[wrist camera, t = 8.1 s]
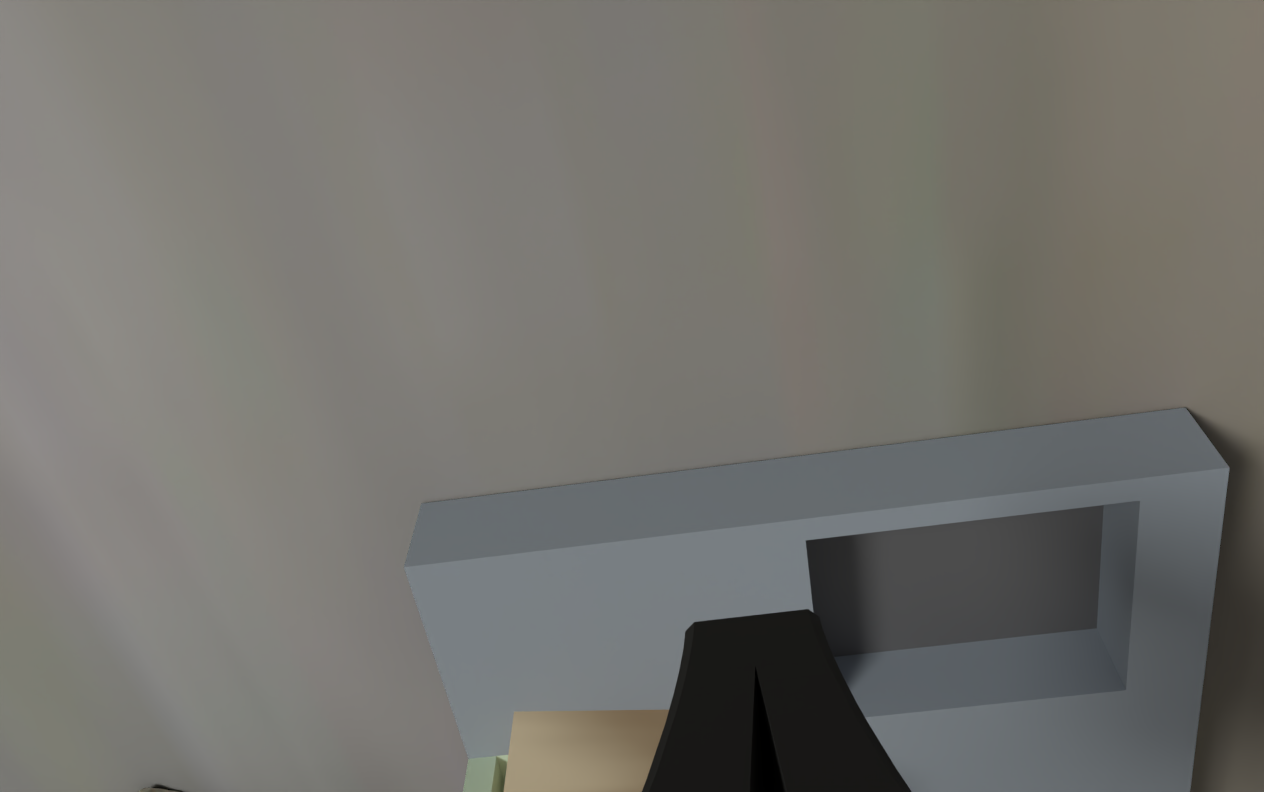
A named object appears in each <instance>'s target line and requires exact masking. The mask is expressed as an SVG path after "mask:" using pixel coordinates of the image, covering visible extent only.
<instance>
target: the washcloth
mask: <svg viewBox="0 0 1264 792" xmlns="http://www.w3.org/2000/svg"><path fill="white" fill-rule="evenodd" d="M138 792H180V791H172V790H166V789H160V788H143V789H141V790H140V791H138Z"/></svg>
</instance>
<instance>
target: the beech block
mask: <svg viewBox="0 0 1264 792" xmlns="http://www.w3.org/2000/svg"><path fill="white" fill-rule="evenodd" d="M668 712H669V710H595V711H521V712H514V715H513V723H512V731H511V738H510V746H509V754H508V761H507V769H506V777H505V784H504V792H642V790H643V787H644V785H645V782H646V779H647V776H648V773H649V770H650V767H651V764H652V762H653V759H654V756H655V753H656V750H657V747H658V744H659V741H660V738H661V735H662V732H663V729H664V726H665V723H666V719H667V716H668Z"/></svg>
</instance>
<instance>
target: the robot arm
mask: <svg viewBox="0 0 1264 792" xmlns="http://www.w3.org/2000/svg"><path fill="white" fill-rule="evenodd" d="M642 792H912V791H911V790H910V788H909V787H908V785H907V784H906V782H905V781H904V779H903V778H902V776H901V775H900V773H899V772H898V770H897V769H896V767H895V766H894V764H893V762H892V761H891V759H890V758H889V756H888V754H887V753H886V751H885V749H884V748H883V746H882V745H881V743H880V741H879V740H878V738H877V736H876V735H875V733H874V732H873V730H872V728H871V727H870V725H869V723H868V722H867V720H866V718H865V716H864V715H863V713H862V711H861V709H860V708H859V706H858V704H857V702H856V700H855V698H854V696H853V695H852V693H851V691H850V689H849V687H848V685H847V683H846V681H845V679H844V677H843V675H842V673H841V671H840V669H839V667H838V665H837V663H836V661H835V658H834V656H833V654H832V651H831V649H830V647H829V644H828V642H827V639H826V636H825V634H824V631H823V628H822V625H821V621H820V617H819V616H818V615H816V614H815V613H813V612H812V611H810V610H809V609H804V610H795V611H786V612H777V613H768V614H760V615H751V616H742V617H733V618H724V619H716V620H707V621H698V622H694V623H693V624H692V625H691V626H690V627H689V628H688V629H687V630H686V631H685V639H684V648H683V654H682V659H681V664H680V669H679V674H678V678H677V682H676V686H675V690H674V694H673V698H672V701H671V705H670V709H669V712H668V716H667V719H666V723H665V726H664V729H663V732H662V735H661V738H660V741H659V744H658V747H657V750H656V753H655V756H654V759H653V762H652V764H651V767H650V770H649V773H648V776H647V779H646V782H645V785H644V787H643V790H642Z"/></svg>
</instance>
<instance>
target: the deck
mask: <svg viewBox="0 0 1264 792" xmlns="http://www.w3.org/2000/svg"><path fill="white" fill-rule="evenodd" d="M1229 468H1230V467H1229V466H1228V465H1227V463H1226V462H1225V461H1224V459H1223V458H1222V457H1221V455H1220V454H1219V452H1218V451H1217V450H1216V448H1215V447H1214V446H1213V444H1212V443H1211V442H1210V440H1209V439H1208V437H1207V436H1206V435H1205V433H1204V432H1203V431H1202V429H1201V428H1200V427H1199V425H1198V424H1197V422H1196V421H1195V420H1194V418H1193V417H1192V416H1191V414H1190V413H1189V412H1188V410H1187V409H1186V407H1185V408H1177V409H1169V410H1161V411H1153V412H1145V413H1137V414H1129V415H1122V416H1114V417H1106V418H1098V419H1090V420H1082V421H1074V422H1066V423H1058V424H1050V425H1042V426H1034V427H1026V428H1018V429H1010V430H1002V431H994V432H986V433H978V434H970V435H963V436H955V437H947V438H939V439H931V440H923V441H915V442H907V443H899V444H891V445H883V446H875V447H867V448H859V449H851V450H843V451H835V452H827V453H819V454H812V455H804V456H796V457H788V458H780V459H772V460H764V461H756V462H748V463H740V464H732V465H724V466H716V467H708V468H700V469H692V470H684V471H676V472H668V473H660V474H653V475H645V476H637V477H629V478H621V479H613V480H605V481H597V482H589V483H581V484H573V485H565V486H557V487H549V488H541V489H533V490H525V491H517V492H509V493H501V494H494V495H486V496H478V497H470V498H462V499H454V500H446V501H438V502H430V503H422V504H421V507H420V511H419V514H418V518H417V522H416V525H415V529H414V533H413V536H412V540H411V543H410V547H409V551H408V554H407V558H406V562H405V565H404V569H405V572H406V575H407V578H408V581H409V584H410V587H411V590H412V593H413V596H414V599H415V601H416V604H417V607H418V610H419V613H420V616H421V619H422V622H423V625H424V628H425V631H426V634H427V637H428V640H429V643H430V646H431V649H432V652H433V655H434V658H435V661H436V664H437V667H438V670H439V673H440V676H441V679H442V682H443V685H444V688H445V690H446V693H447V696H448V699H449V702H450V705H451V708H452V711H453V714H454V717H455V720H456V723H457V726H458V729H459V732H460V735H461V738H462V741H463V744H464V747H465V750H466V753H467V756H468V765H467V771H466V777H465V783H464V789H463V792H504V784H505V777H506V769H507V761H508V754H509V746H510V738H511V731H512V723H513V715H514V712H521V711H595V710H669V709H670V705H671V701H672V698H673V694H674V690H675V686H676V682H677V678H678V674H679V669H680V664H681V659H682V654H683V648H684V639H685V631H686V630H687V629H688V628H689V627H690V626H691V625H692V624H693V623H694V622H698V621H707V620H716V619H724V618H733V617H742V616H751V615H760V614H768V613H777V612H786V611H795V610H804V609H809V610H810V611H812V612H813V613H815V614H816V615H818V616H819V617H820V621H821V625H822V628H823V631H824V634H825V636H826V639H827V642H828V644H829V647H830V649H831V651H832V654H833V656H834V658H835V661H836V663H837V665H838V667H839V669H840V671H841V673H842V675H843V677H844V679H845V681H846V683H847V685H848V687H849V689H850V691H851V693H852V695H853V696H854V698H855V700H856V702H857V704H858V706H859V708H860V709H861V711H862V713H863V715H864V716H865V718H866V720H867V722H868V723H869V725H870V727H871V728H872V730H873V732H874V733H875V735H876V736H877V738H878V740H879V741H880V743H881V745H882V746H883V748H884V749H885V751H886V753H887V754H888V756H889V758H890V759H891V761H892V762H893V764H894V766H895V767H896V769H897V770H898V772H899V773H900V775H901V776H902V778H903V779H904V781H905V782H906V784H907V785H908V787H909V788H910V790H911V791H912V792H1190V788H1191V780H1192V772H1193V764H1194V755H1195V747H1196V739H1197V731H1198V723H1199V714H1200V706H1201V698H1202V690H1203V682H1204V673H1205V665H1206V657H1207V649H1208V641H1209V632H1210V624H1211V616H1212V608H1213V600H1214V591H1215V583H1216V575H1217V567H1218V559H1219V550H1220V542H1221V534H1222V526H1223V518H1224V509H1225V501H1226V493H1227V485H1228V477H1229Z"/></svg>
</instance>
